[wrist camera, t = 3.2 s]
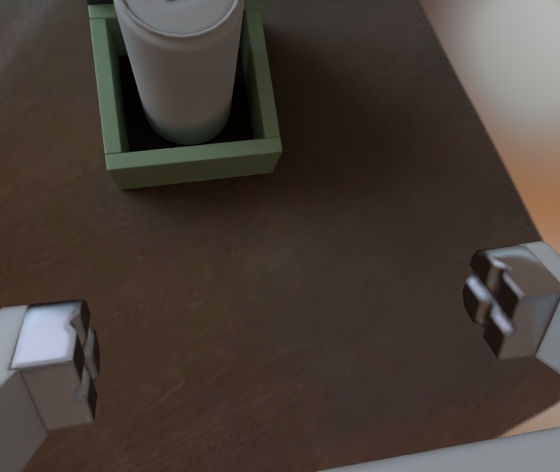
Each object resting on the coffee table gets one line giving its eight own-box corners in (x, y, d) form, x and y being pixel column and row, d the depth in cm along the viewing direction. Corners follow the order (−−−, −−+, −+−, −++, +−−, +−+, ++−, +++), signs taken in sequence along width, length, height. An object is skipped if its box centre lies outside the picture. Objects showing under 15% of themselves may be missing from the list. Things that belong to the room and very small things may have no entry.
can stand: (272, 173, 31) (329, 54, 17) (119, 190, 29) (45, 75, 16) (248, 19, 32) (283, -208, 18) (100, 28, 30) (17, -210, 17)
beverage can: (246, 121, 31) (273, -1, 19) (176, 165, 30) (158, 65, 18) (199, 55, 31) (196, -106, 19) (127, 96, 30) (79, -46, 18)
